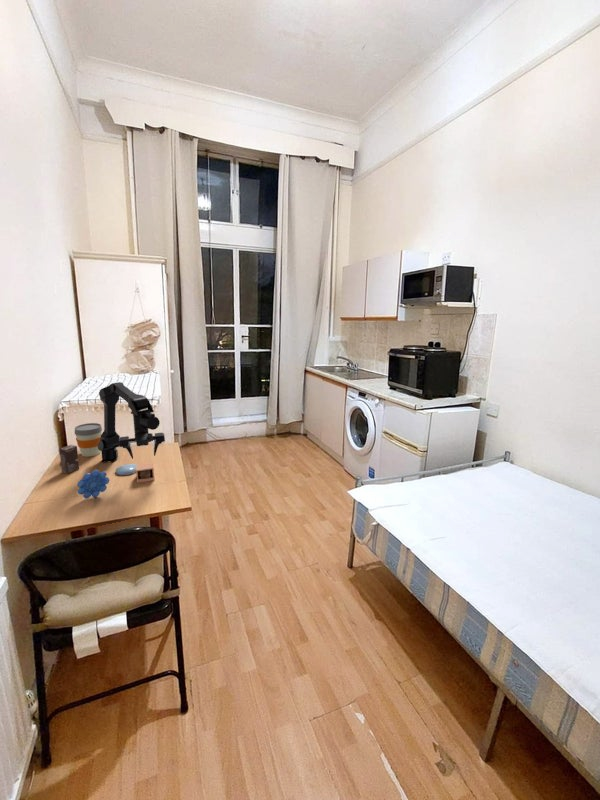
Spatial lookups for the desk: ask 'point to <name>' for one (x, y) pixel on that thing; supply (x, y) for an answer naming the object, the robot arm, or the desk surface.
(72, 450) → the box
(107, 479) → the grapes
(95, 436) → the reusable coffee cup
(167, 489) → the desk surface
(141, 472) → the block
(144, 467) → the container
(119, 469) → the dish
